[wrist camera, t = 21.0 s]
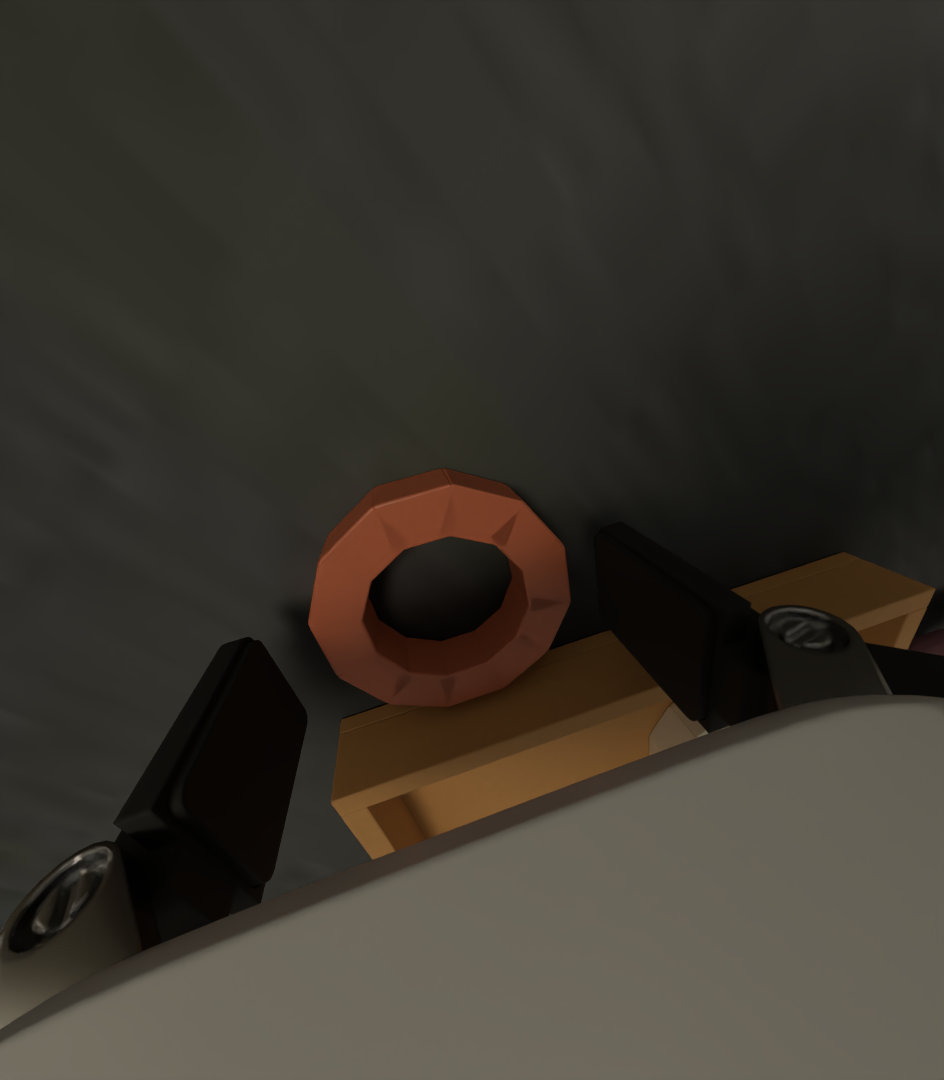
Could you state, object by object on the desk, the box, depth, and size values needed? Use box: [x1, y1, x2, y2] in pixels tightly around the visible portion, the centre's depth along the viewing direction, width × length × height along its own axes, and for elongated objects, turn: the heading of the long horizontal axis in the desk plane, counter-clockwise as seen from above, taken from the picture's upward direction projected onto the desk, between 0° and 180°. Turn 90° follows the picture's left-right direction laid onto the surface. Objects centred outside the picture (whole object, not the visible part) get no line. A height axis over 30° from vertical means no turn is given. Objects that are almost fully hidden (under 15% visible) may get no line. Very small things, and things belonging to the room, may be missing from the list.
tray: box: [331, 552, 935, 860], centre depth 16 cm, size 15×21×3 cm
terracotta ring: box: [308, 468, 571, 707], centre depth 11 cm, size 7×7×2 cm
